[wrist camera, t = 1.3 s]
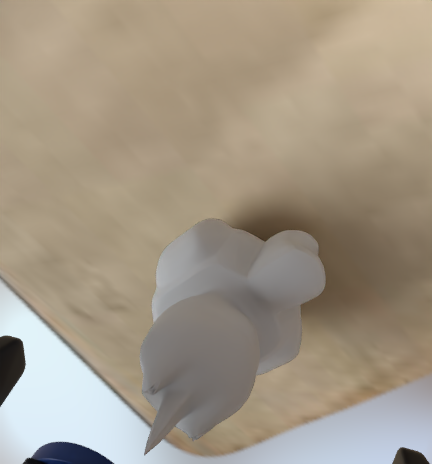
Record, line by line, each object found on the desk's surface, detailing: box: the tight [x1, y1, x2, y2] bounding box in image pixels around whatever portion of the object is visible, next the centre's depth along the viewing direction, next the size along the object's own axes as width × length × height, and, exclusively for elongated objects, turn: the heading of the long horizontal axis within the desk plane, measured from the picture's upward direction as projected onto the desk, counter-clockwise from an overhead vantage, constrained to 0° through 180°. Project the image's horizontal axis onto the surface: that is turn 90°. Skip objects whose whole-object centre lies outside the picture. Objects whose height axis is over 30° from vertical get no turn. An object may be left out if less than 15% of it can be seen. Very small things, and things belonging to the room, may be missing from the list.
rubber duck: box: [140, 219, 326, 455], centre depth 12 cm, size 5×7×8 cm
